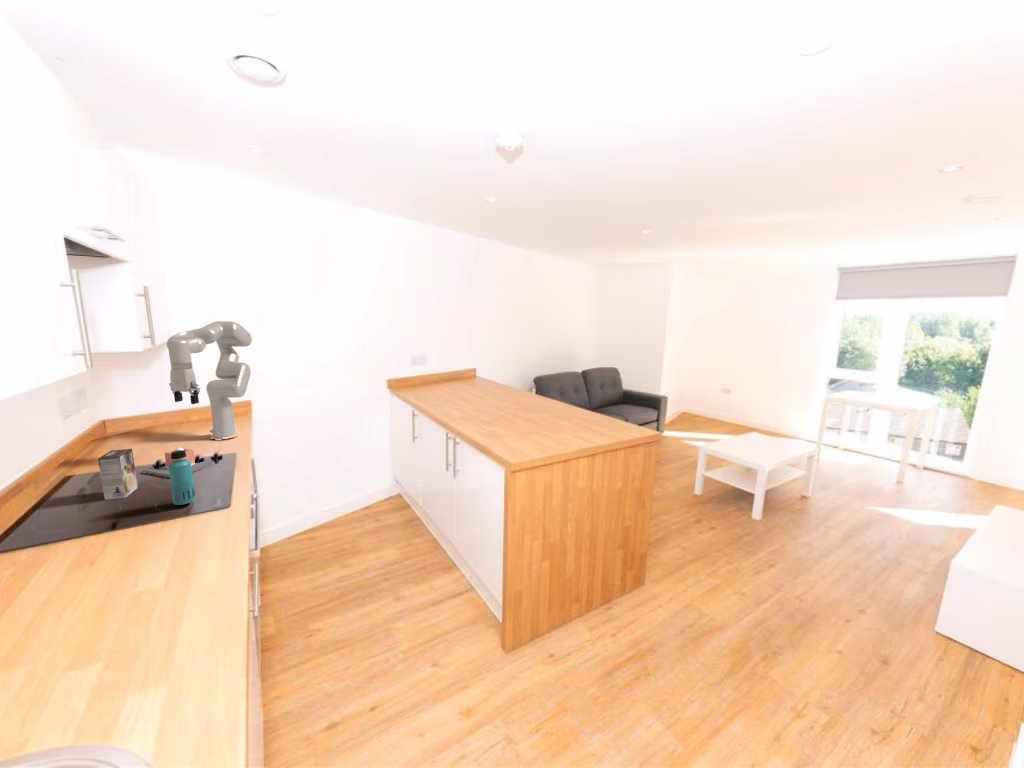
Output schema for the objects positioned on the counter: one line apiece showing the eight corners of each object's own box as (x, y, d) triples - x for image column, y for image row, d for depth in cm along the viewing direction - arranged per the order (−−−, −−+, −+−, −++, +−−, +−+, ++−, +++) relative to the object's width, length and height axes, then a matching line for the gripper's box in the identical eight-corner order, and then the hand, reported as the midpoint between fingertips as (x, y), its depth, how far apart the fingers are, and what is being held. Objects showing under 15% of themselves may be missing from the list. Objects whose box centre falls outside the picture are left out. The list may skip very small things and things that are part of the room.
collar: (166, 466, 174) (164, 452, 173) (183, 460, 181) (181, 447, 180) (178, 468, 172) (176, 454, 171) (195, 462, 179) (193, 449, 178)
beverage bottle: (183, 510, 141) (176, 455, 138) (167, 507, 142) (160, 453, 139) (200, 501, 147) (195, 449, 144) (185, 499, 149) (179, 447, 145)
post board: (143, 473, 170) (140, 451, 169) (187, 458, 188) (185, 439, 186) (174, 478, 166) (172, 457, 164) (217, 463, 183) (215, 443, 181)
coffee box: (117, 490, 155) (111, 449, 152) (138, 487, 157) (132, 448, 154) (103, 500, 146) (97, 458, 144) (126, 497, 149) (120, 456, 146)
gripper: (158, 366, 183) (164, 402, 187) (188, 369, 179) (193, 406, 183) (175, 363, 190) (181, 398, 194) (204, 366, 186) (209, 402, 190)
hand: (187, 402), depth 188 cm, fingers open, 9 cm apart
